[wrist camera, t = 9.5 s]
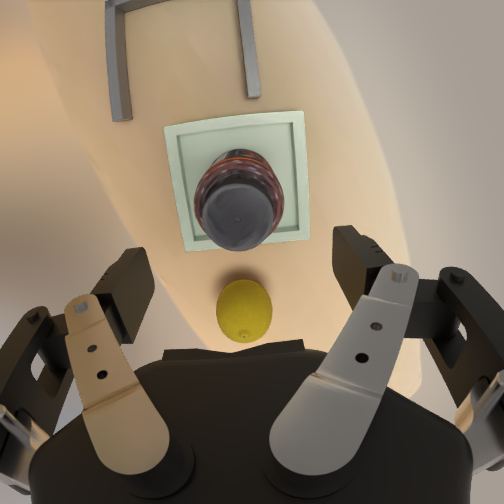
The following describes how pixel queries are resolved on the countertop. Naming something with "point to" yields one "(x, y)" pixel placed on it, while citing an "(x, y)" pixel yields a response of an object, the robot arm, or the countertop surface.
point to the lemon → (244, 311)
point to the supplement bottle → (239, 200)
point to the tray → (241, 137)
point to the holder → (117, 64)
